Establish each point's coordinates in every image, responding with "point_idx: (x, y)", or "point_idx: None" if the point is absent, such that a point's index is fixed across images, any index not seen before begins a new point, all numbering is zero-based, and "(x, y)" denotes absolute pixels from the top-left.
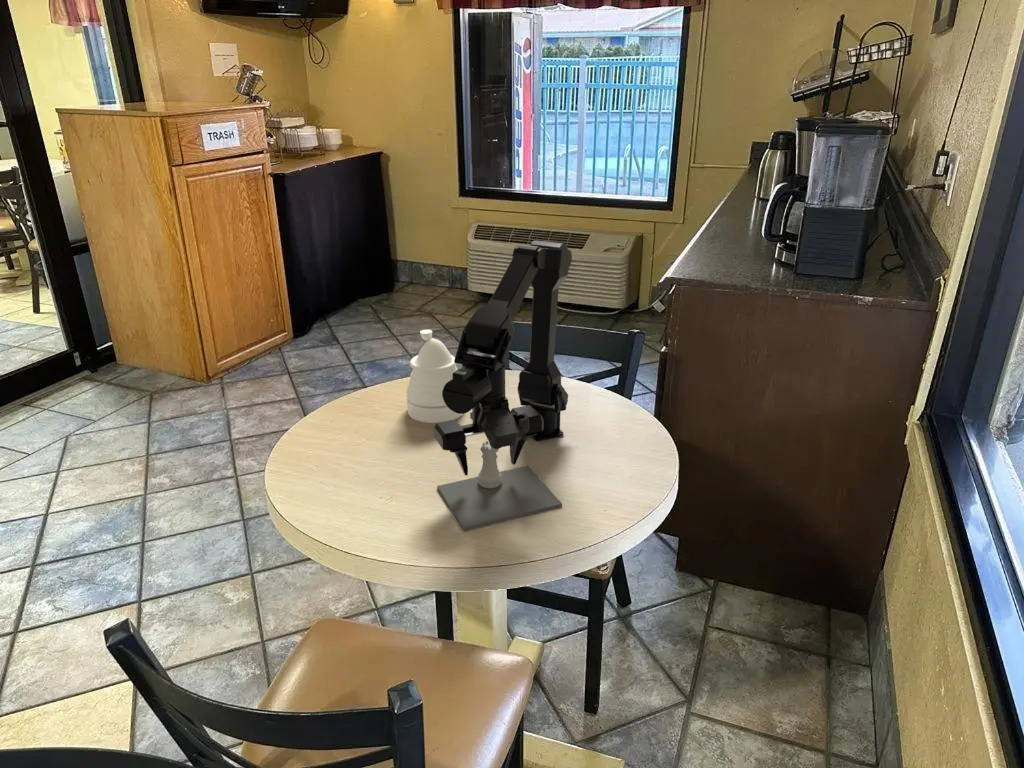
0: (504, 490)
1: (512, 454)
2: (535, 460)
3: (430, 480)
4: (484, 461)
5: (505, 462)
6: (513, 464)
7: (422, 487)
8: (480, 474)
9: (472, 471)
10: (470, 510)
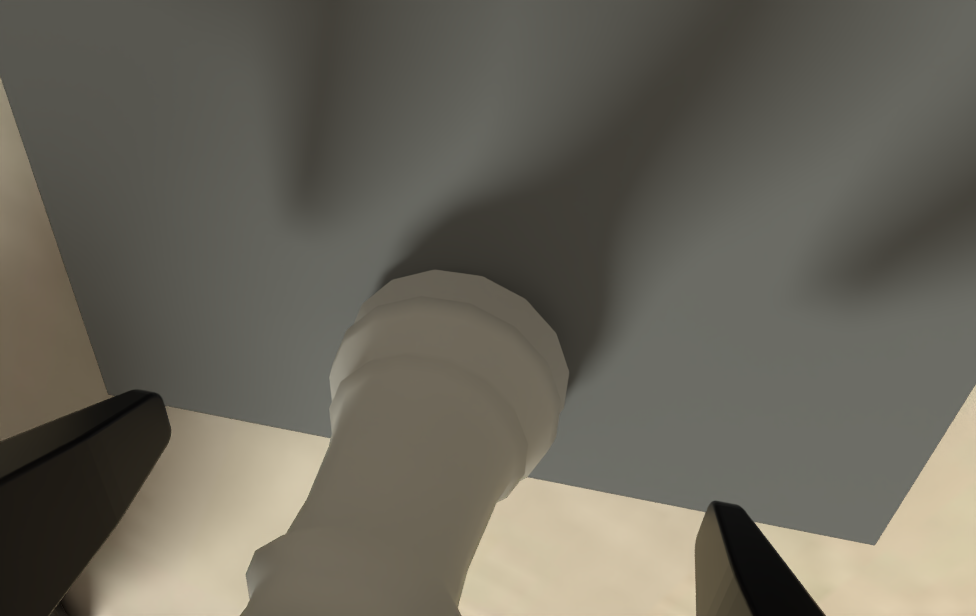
0: (389, 194)
1: (71, 501)
2: None
3: None
4: (455, 573)
5: (255, 501)
6: (153, 394)
7: (945, 587)
8: (528, 455)
9: (496, 539)
10: (950, 17)
